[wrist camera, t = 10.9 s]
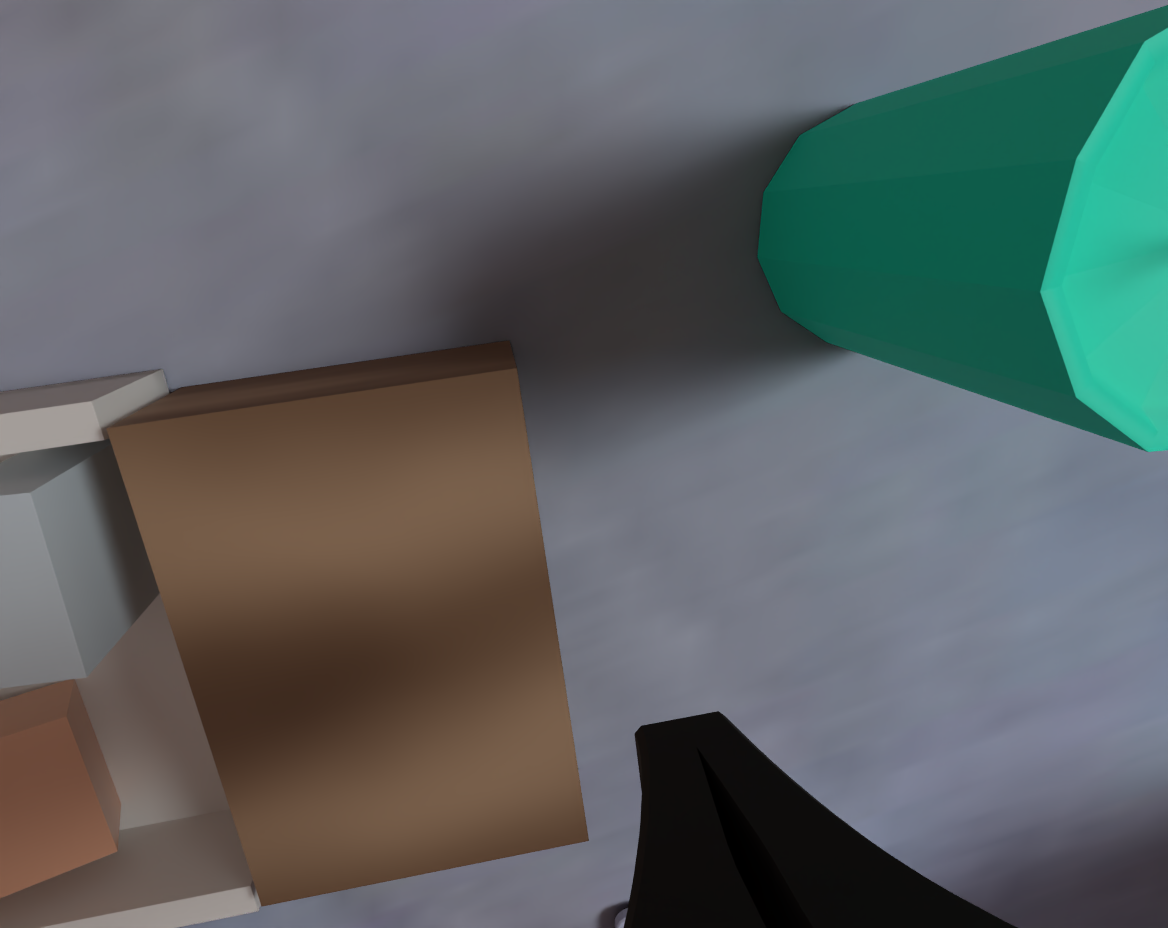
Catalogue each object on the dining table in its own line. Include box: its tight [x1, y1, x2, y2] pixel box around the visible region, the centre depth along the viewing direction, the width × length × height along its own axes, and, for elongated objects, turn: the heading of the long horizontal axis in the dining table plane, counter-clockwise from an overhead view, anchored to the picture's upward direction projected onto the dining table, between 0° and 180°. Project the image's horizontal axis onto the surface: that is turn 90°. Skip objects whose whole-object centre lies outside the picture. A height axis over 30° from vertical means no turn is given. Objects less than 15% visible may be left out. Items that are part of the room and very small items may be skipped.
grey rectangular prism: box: [0, 439, 160, 689], centre depth 17 cm, size 4×4×2 cm
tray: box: [0, 369, 261, 928], centre depth 19 cm, size 13×9×4 cm, turn 7°
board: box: [106, 340, 589, 906], centre depth 19 cm, size 12×8×4 cm, turn 7°
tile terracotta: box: [0, 679, 121, 898], centre depth 19 cm, size 4×4×2 cm
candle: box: [757, 5, 1168, 452], centre depth 14 cm, size 6×6×12 cm
